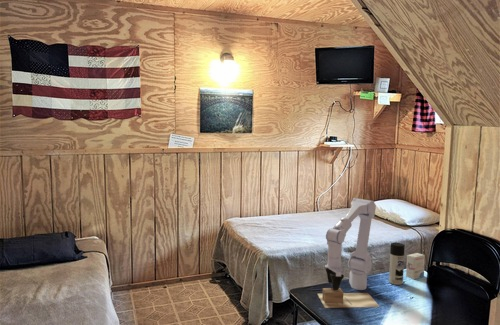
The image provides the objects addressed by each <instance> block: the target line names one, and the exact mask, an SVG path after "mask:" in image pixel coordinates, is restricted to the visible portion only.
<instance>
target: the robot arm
mask: <svg viewBox="0 0 500 325" xmlns="http://www.w3.org/2000/svg"><path fill="white" fill-rule="evenodd" d="M376 208H377V205H376V203H375V200H370V199H369V200H368V199H362V198H358V197H354V198H353V199H352V200H351V203H350V208H349V210H348V211H347V213H346V215H345V217H344V216H343V217H341V218H339V219H338V221H337V222H336V224H334V226H333V227H332V228H329V229H327V231H326V234H325V240H326V244H327V264H325V265H324V269H325V272H326V277H327V282H328V284H332V288H333V290H338V289H339V288H340V285H341V283H342V280H343V279H344V277H345V276H344V274H342V250H343V249H342V247H343V243H344V241H345V238H346V236H347V232H348V231H349V230H350V229H351V227H352V222H353V221H354V220H355V219H356V218H357V217H359V218H360V220H359V227H358V234H357V241H356V247H355V250H354V251H352V252H351V253H350V256H349V258H348V261H347V266H348V268H349V270H350V271H349V273H348V274H349V278H348V284H349V285H350V287H351V289H354V290H357V291H363V290H366V289H367V286H368V274H369V273H370V272H371V270H372V266H373V264H372V259H373V258H372V257H371V255H370V254H369V253H368V252H367V251H368V245H369V239H370V238H369V237H370V231H371V227H372V226H371V225H372V219H374V218H375V214H376Z"/></svg>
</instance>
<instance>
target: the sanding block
mask: <svg viewBox="0 0 500 325" xmlns="http://www.w3.org/2000/svg"><path fill="white" fill-rule="evenodd" d="M322 293H323V296H322V299H323V301H324V303H325V304H329V303H343V293H345V292H344V291H343V290H342V288H341V287H339V289H338V290H333V287H332V288H331V287H324V288H323V287H322Z"/></svg>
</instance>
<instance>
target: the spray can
mask: <svg viewBox="0 0 500 325" xmlns="http://www.w3.org/2000/svg"><path fill="white" fill-rule="evenodd" d="M405 247H406V246H405V244H403V243H401V242H397V241H396V242H391V243H390V250H389V251H390V252H389V269H388V270H389V271H388V272H389V273H388V274H389V275H388V282H389V283H390V284H391V285H394V286H401V285H403V283H404V271H405V270H404V269H405V268H404V266H405V265H404V264H405Z"/></svg>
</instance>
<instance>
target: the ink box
mask: <svg viewBox="0 0 500 325" xmlns="http://www.w3.org/2000/svg"><path fill="white" fill-rule="evenodd" d="M425 260H426V255H425V254H422V253H419V252H414V253H411V254H406V266H405V267H406V269H405V276H406V277H407V278H410V279H412V280H416V279H419V278H423V277H425V262H426V261H425Z"/></svg>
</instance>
